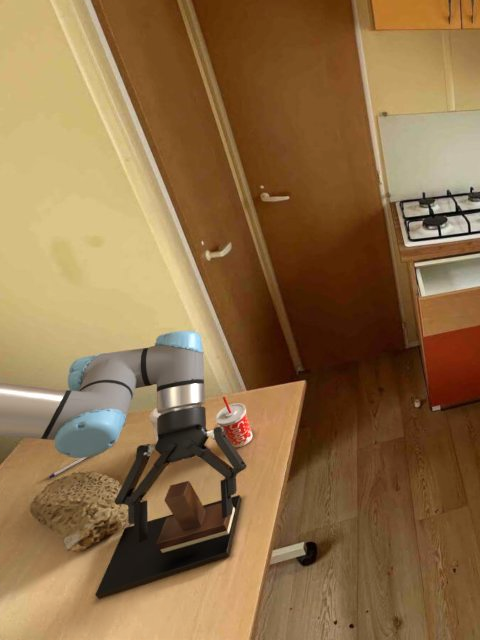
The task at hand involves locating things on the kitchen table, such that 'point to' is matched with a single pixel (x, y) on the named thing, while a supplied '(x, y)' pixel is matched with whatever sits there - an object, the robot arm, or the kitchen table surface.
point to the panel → (160, 556)
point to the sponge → (80, 508)
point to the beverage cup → (235, 423)
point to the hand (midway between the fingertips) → (185, 528)
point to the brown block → (190, 519)
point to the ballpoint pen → (67, 467)
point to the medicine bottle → (154, 422)
